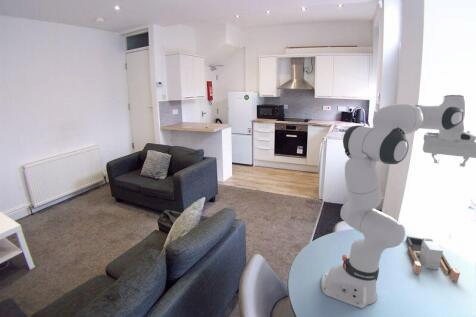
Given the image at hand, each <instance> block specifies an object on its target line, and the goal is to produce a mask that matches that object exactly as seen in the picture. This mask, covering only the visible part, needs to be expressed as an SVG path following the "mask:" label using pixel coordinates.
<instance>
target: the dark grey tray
mask: <svg viewBox="0 0 476 317" xmlns="http://www.w3.org/2000/svg"><path fill="white" fill-rule="evenodd" d="M422 240H423V238H420V237H413V236H408V235H407V236H406V239H405V241H406V245H407V246H409V247H411V249H412V250H413V251H419V252H420V248H421V244H422Z"/></svg>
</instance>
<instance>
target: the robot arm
mask: <svg viewBox="0 0 476 317" xmlns="http://www.w3.org/2000/svg"><path fill="white" fill-rule="evenodd" d="M466 117H467V99H466V96H464V95H461V94H460V95H459V94H450V95H448V94H447V95H444V96H443V97H442V98H441V102H440V104H439V105H420V104H418V105H417V104H415V105H413V104H408V103H399V104H390V105H386V106H384V107H381V108H379V109H378V110H376V112H375V113H374V115H373V118H372V124H373V126H364V125H353V126H350V127H349V128H347V129H346V131H345V132H344V135H343V137H342V138H343V139H342V145H343V148H344V154H345V155H346V157H347V158H348V159H347V161H346V162H345V165H344V180H345V185H346V190H347V193H348V194H347V195H348V201H346V202H345V203H344V204H343V205H342V206H341V208H340V214H339V215H340V218H341V219H342V220H343V222H344V223H346V225H348V226H349V227H351V228H352V229H354V230H355V231H357V232H359V233H360V234H362V235H363V237H364V238H360V239H356V240H354V241H353V242H352V243H351V246H350V251H349V252H350V253H349V257H348V256H347V255H346V254H343V255H342V256H341V257H342V259H341V260H342V261H343V262H342V263H341V264H338V265H335V266H334V265H333V266H332V267H331V268H330V269H329V271H328V272H325V273H324V274H323V275H322V277H321V281H320V285H321V286H320V287H321V291H322V292H323V294H324V295H325V296H327V297H330V298H333V299H336V300H338V301H340V302H343V303H346V304H348V305H350V306H354V307H357V308H359V309H363V308H365V307H366V306H368V305H373V304H374V303H375V302H376V301H377V299H378V292H377V281H378V278H379V273H380V267H379V265H380V260H381V257H382V254H383V253H384V251H385V250H387V249H391V248H396V247H398V246H400V245H401V244H402V243H403V242H404V240H405V237H406V230H405V226H404V225H403V224H402V223H401V222H399V221H398V220H396V219H395V218H393V217H392V216H390V215H388V214H387V213H384V212H383V211H380V210H378V209H376V208H377V207H378V206H379V205H380V204H381V203H382V199H383V195H382V190H381V189H382V188H381V183H380V179H379V178H380V177H379V174H378V171H377V168H376V165H377V162H378V163H382V164H385V165H398V164H400V163H401V162H402V161H404V159H405V158H406V156H407V155H408V152H409V141H408V137H407V135H410V134H413V133H415V132H416V131H418V130H420V129H423V130H424V129H425V130H437V131H438V132H431V131H430V132H429V131H428V132H426V133H424V135H423V145H422V151H423V153H426V154H427V153H428V154H431V157H432V159H433V160H434V161H433V163H434V164H440V158H438V156H437V155H445V156H452V157H453V156H454V157H462V158H463V159H462V160H463V161H460V162H459V167H463V168H464V167H465V166H466V162H468V160H469V159H470V158H472V159H473V158H474V159H476V131H474V130H471V129H467V128H466V123H465V119H466Z"/></svg>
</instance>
